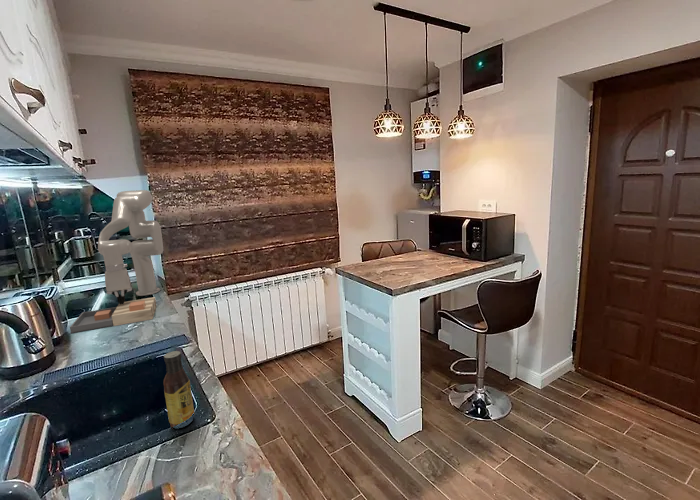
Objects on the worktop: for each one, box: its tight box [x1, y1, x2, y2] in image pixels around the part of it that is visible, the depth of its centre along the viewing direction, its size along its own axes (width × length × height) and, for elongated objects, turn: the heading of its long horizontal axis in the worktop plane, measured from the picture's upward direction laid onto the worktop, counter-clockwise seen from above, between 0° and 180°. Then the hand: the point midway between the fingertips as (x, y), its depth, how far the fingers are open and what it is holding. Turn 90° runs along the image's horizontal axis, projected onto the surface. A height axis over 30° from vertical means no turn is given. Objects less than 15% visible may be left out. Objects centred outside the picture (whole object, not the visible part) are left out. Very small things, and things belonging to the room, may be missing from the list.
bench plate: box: [112, 296, 157, 327], centre depth 179 cm, size 20×16×5 cm
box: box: [69, 306, 117, 334], centre depth 173 cm, size 20×16×3 cm
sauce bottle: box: [163, 350, 195, 429], centre depth 95 cm, size 7×6×20 cm
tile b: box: [129, 300, 146, 311], centre depth 174 cm, size 6×6×2 cm
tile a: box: [94, 310, 112, 321], centre depth 177 cm, size 6×6×2 cm
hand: (122, 303), depth 180 cm, fingers closed
